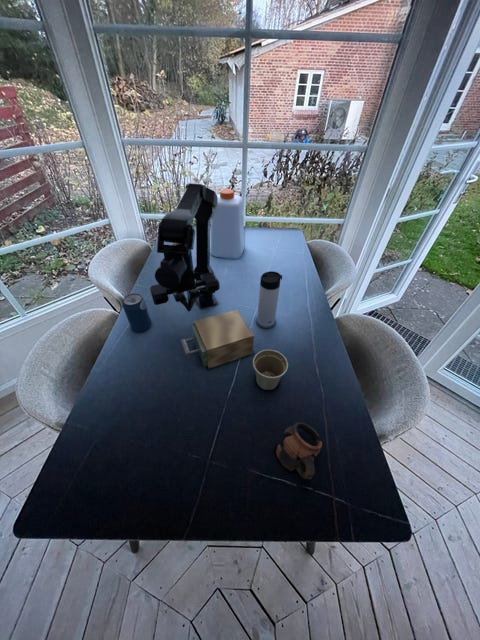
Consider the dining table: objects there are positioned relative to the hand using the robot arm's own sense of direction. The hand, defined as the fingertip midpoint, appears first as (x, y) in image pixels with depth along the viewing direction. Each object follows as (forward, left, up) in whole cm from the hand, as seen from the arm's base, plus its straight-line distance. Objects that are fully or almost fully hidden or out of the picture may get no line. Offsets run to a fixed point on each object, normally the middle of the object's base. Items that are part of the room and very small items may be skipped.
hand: (188, 310), depth 80 cm
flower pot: (+25, +15, -12) cm, 32 cm away
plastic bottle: (-49, +32, -12) cm, 60 cm away
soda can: (-12, -15, -12) cm, 23 cm away
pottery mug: (+46, +12, -12) cm, 49 cm away
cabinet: (+8, +8, -12) cm, 16 cm away
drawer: (+8, +4, -11) cm, 14 cm away
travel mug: (+3, +26, -12) cm, 29 cm away
